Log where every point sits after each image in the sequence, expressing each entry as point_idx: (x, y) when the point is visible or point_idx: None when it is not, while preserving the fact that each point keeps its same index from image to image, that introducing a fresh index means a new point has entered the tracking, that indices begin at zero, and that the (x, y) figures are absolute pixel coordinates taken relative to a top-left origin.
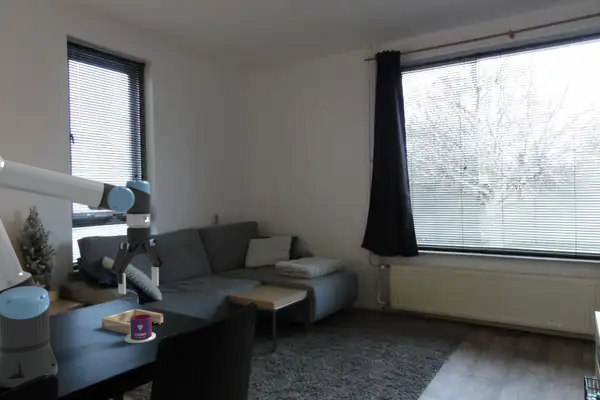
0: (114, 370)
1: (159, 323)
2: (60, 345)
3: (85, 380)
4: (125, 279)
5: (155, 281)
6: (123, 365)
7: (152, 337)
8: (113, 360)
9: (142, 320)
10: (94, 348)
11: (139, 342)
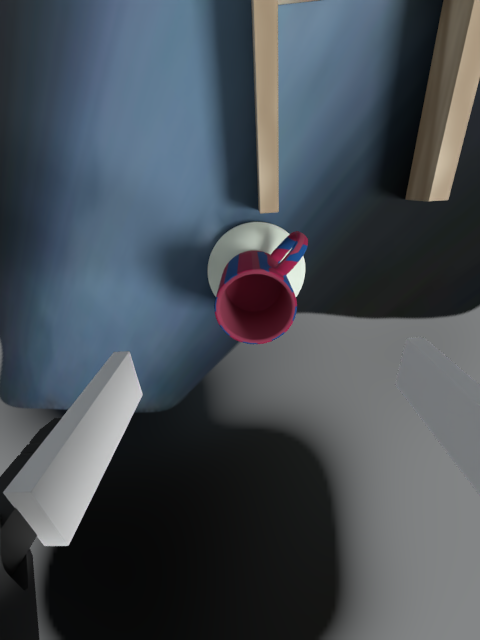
0: None
1: (407, 196)
2: (25, 83)
3: (38, 391)
4: (96, 483)
5: (416, 395)
6: None
7: None
8: None
9: (236, 338)
10: (114, 235)
11: None
